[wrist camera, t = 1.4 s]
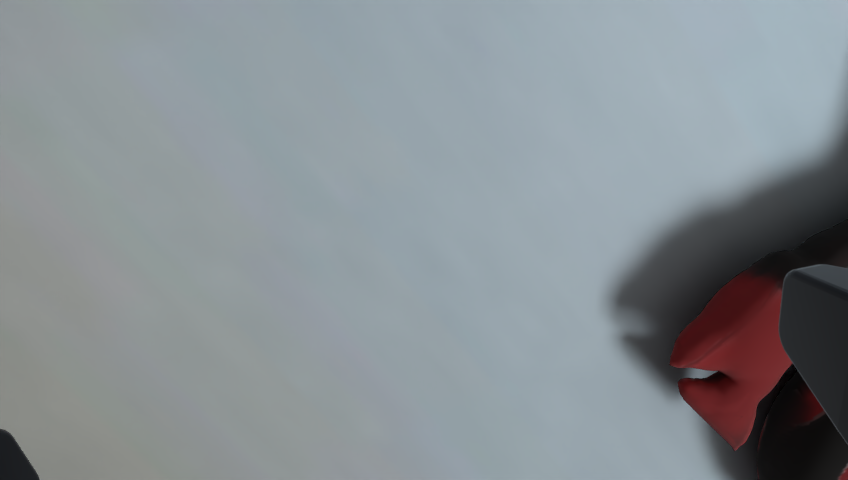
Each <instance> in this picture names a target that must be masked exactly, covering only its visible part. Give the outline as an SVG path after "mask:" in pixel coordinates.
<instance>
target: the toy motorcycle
mask: <svg viewBox="0 0 848 480" xmlns="http://www.w3.org/2000/svg"><path fill="white" fill-rule="evenodd" d="M819 264H823V265H832V266H837V267H842V268H848V219H847V220H845V221H844V222H842V223H840V224H838V225H836V226H834V227H832V228H830V229H827V230H825V231H823V232H820V233H818V234H816V235H814V236H812V237H811V238H809V239H808V240H806V241H805V242H804V243H802V244H801V245H800V246H799V247H798V248H796V249H794V250H791V251H780V252H773V253H771V254H769V255H767V256H766V257H764V258H763V259H761V260H759V261H758V262H756V263H755V264H754V265H752V266H751V267H750V268H748V269H747V270H745V271H743V272H742V273H740V274H739V275H737V276H736V277H734V278H733V279H732V280H731V281H729V282H728V283H727V284H726V285H724V286H723V287H722V288H721V289H720V290H719V291H718V292H717V293H716V294H715V295H714V296H713V298H712V299H711V300H710V301H709V303H708V304H707V305H706V306H705V308H704V309H703V311H702V312H701V313H700V315H699V316H698V317H697V318H696V319H694V320H693V321H692V322H691V323H690V324H688V325H687V326H686V327H685V328H684V330H683V331H682V332H681V333H680V335H679V336H678V338H677V340H676V341H675V344H674V348H673V351H672V354H671V356H670V364H669V365H671V366H674V367H677V368H697V369H703V370H710V371H718V372H716V373H714V374H713V375H711V376H709V377H707V378H702V379H699V378H695V379H693V378H682V379H680V380H679V382H678V387H679V392H680V394H681V396H682V397H683V399H684V400H685V401H686V402H687V403H688V404H689V405H690V406H691V407H692V408H693V409H694V410H695V411H696V412H697V413H698V414H699V415H700V416H701V417H702V418H703V419H704V420H705V421H706V422H707V423H708V424H709V425H710V426H711V427H712V428H713V429H714V430H715V431H716V432H717V433H718V434H719V435H720V436H721V437H722V438H724V439H725V440H726V441H727V442H728V443H729V444H730V445H731V446H732V448H733V449H734V451H735V450H737V449H738V448H739V446H741V445H743V444H744V443H745V442H746V441H747V439H748V436H749V435H750V433H751V430H752V428H753V424H754V420H755V417H756V408H757V405H758V403H759V402H760V401H761V399H763V398H764V397H765V396H766V395H767V394H768V393H770V391H771V390H772V389H773V388H774V387H775V385H776V384H777V383H778V381H779V379H780V378H781V376H782V375H783V374H784V372H785V371H786V370H787V369H788V368H789V367H790V366H791V364H792V361H791V360H790V358H789V357H788V355H787V354H786V352H785V350H784V348H783V346H782V344H781V341H780V337H779V330H778V329H779V316H780V307H781V298H782V288H783V282H784V278H785V276H786V274H787V273H788V272H790V271H791V270H794V269H799V268H804V267H809V266H814V265H819ZM757 472H758V479H759V480H848V444H847V443H846V442H845V440H844V439H843V437H842V436H841V435H840V433H839V432H838V430H837V429H836V427H835V426H834V424H833V423H832V421H831V420H830V418H829V417H828V415H827V414H826V412H825V411H824V409H823V408H822V406H821V405H820V403H819V402H818V400H817V399H816V397H815V396H814V394H813V393H812V391H811V390H810V388H809V387H808V385H807V384H806V382H805V381H804V379H803V378H802V376H801V375H800V373H799V372H797V373H796V374H795V375H794V376H793V377H792V378H791V379H790V380H789V381H788V382H787V384H786V385H785V386H784V387H783V389H782V390H781V392H780V393H779V395H778V396H777V398H776V399H775V401H774V403H773V405H772V407H771V409H770V411H769V413H768V415H767V417H766V420H765V422H764V425H763V428H762V431H761V435H760V439H759V444H758V450H757Z"/></svg>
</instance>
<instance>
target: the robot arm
mask: <svg viewBox="0 0 848 480" xmlns="http://www.w3.org/2000/svg"><path fill="white" fill-rule="evenodd" d="M778 330H779V337H780V341H781V344H782V346H783V348H784V350H785V352H786V354H787V355H788V357H789V358H790V360H791V361H792V363H793V364H794V366H795V367H796V369H797V370H798V372H799V373H800V375H801V376H802V378H803V379H804V381H805V382H806V384H807V385H808V387H809V388H810V390H811V391H812V393H813V394H814V396H815V397H816V399H817V400H818V402H819V403H820V405H821V406H822V408H823V409H824V411H825V412H826V414H827V415H828V417H829V418H830V420H831V421H832V423H833V424H834V426H835V427H836V429H837V430H838V432H839V433H840V435H841V436H842V437H843V439H844V440H845V442H846V443H847V444H848V268H842V267H837V266H832V265H823V264H819V265H814V266H809V267H804V268H799V269H794V270H791V271H790V272H788V273H787V274H786V276H785V278H784V282H783V288H782V298H781V307H780V316H779V329H778ZM0 480H40V479H39V476H38V474H37V473H36V471H35V470H34V468H33V466H32V465H31V463H30V462H29V460H28V459H27V457H26V456H25V454H24V453H23V451H22V450H21V448H20V447H19V445H18V444H17V442H16V441H15V439H14V437H13V436H12V435H11V434H10V433H9V432H7V431H6V430H3V429H0Z"/></svg>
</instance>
